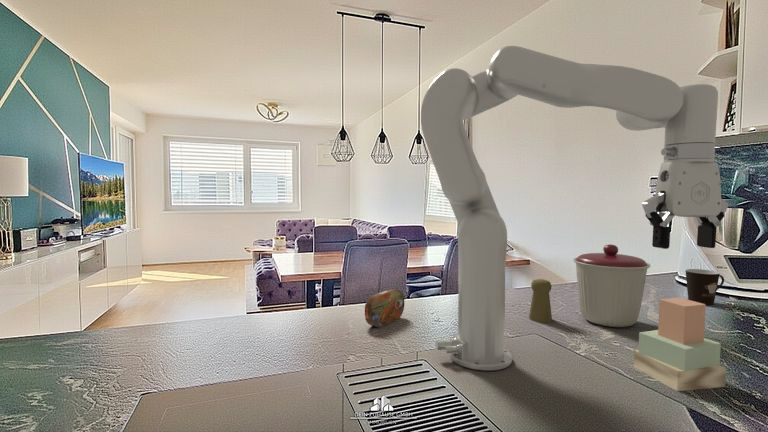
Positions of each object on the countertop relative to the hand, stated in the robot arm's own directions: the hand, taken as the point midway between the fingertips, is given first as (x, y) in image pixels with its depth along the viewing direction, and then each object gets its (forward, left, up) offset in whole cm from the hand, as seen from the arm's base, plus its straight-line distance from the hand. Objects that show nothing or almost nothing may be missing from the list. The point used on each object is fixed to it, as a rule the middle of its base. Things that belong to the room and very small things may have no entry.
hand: (683, 247), depth 76 cm
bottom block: (0, 0, -25) cm, 25 cm away
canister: (+10, +32, -25) cm, 42 cm away
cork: (-7, +37, -25) cm, 45 cm away
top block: (0, 0, -21) cm, 21 cm away
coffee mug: (+54, +44, -25) cm, 74 cm away
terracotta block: (0, 0, -17) cm, 17 cm away
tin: (-50, +41, -25) cm, 69 cm away
